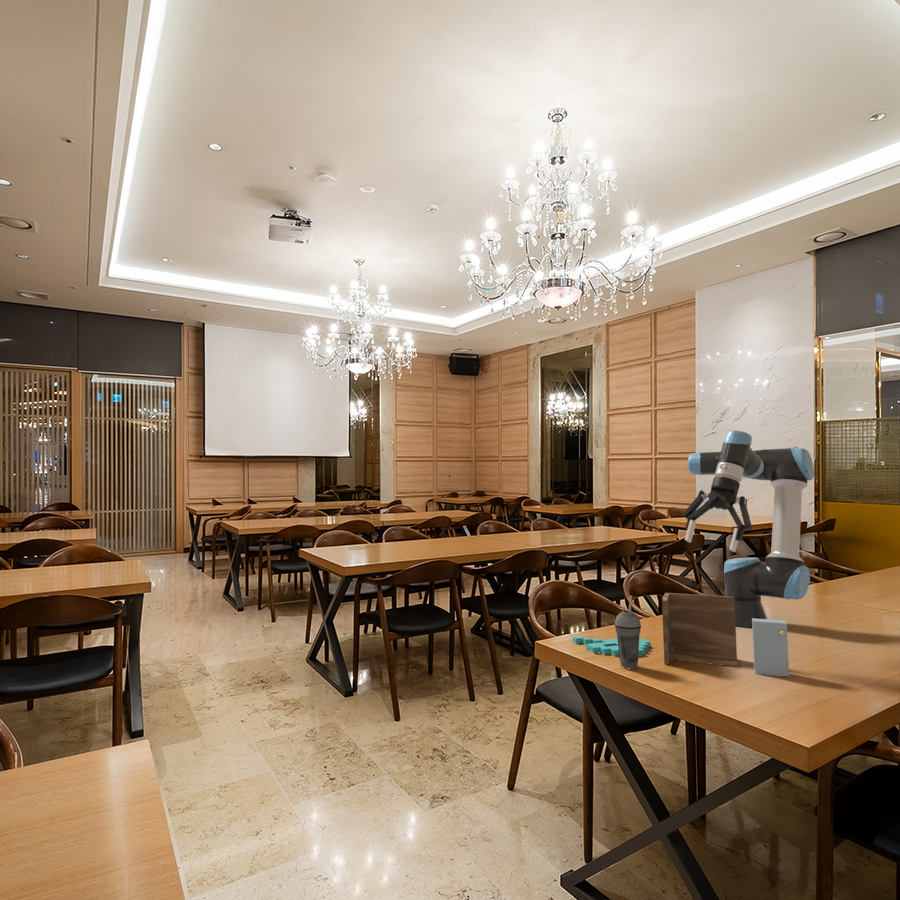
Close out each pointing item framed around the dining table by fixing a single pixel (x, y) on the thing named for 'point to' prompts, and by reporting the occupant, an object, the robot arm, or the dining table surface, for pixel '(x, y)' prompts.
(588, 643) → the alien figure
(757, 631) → the door
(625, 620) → the beverage cup
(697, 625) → the cabinet
